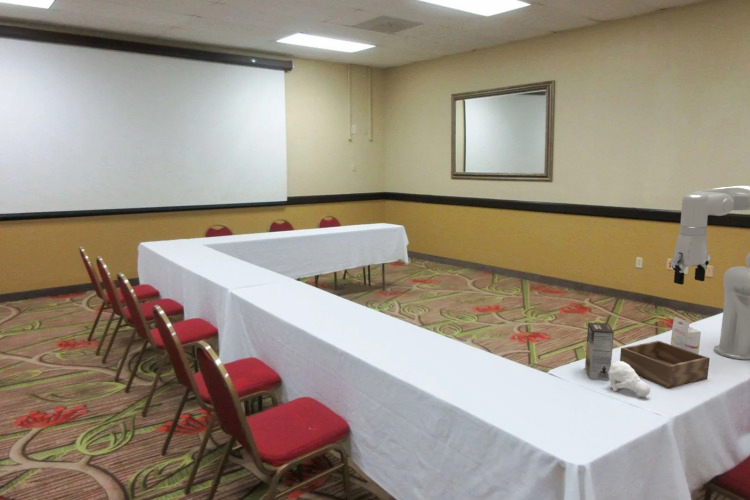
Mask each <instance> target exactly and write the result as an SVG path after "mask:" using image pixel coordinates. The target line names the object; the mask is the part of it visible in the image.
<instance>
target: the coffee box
mask: <svg viewBox="0 0 750 500" xmlns="http://www.w3.org/2000/svg"><path fill="white" fill-rule="evenodd" d="M586 335H587V336H586V350H585V361H584V362H585V364H584V369H585V371H586V373H587V376H588V378H589V380H599V381H610V380H609V374H608V371H609V370H610V366H611V365H612V357H613V348H614V335H615V332H614V330H613V329H612V327H611V325H610V324H609V322H608V323H607V322H605V323H603V322H588V323H587V334H586Z"/></svg>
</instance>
